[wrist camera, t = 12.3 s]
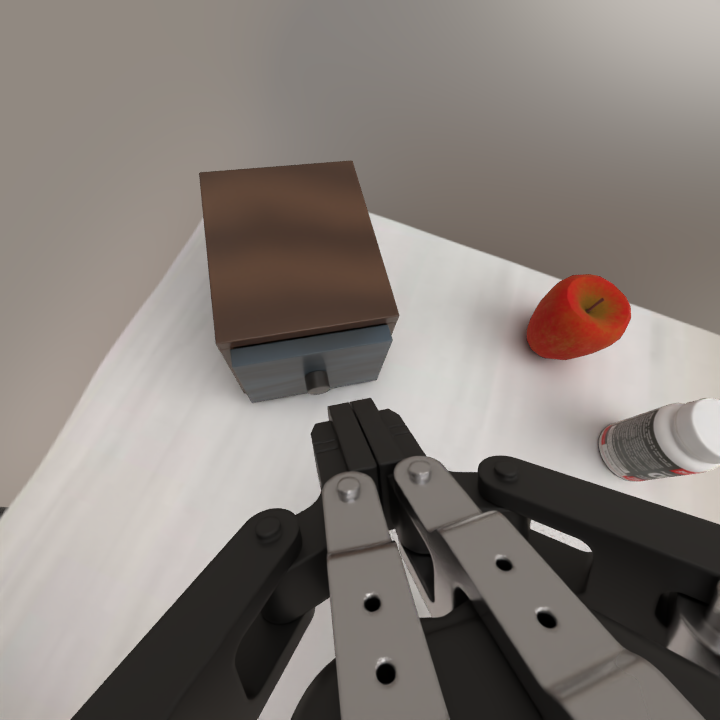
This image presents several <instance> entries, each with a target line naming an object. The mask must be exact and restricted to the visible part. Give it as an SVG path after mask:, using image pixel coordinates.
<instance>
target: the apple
mask: <svg viewBox="0 0 720 720" xmlns="http://www.w3.org/2000/svg"><path fill="white" fill-rule="evenodd" d="M630 319H631V308H630V304H629V302H628V300H627V298H626V297H625V296H624V294H623V293H622V292H621V291H620V290H618V289H617V287H615V286H614V284H612V283H611V282H609V281H607V280H606V279H604V278H602V277H600V276H596V275H591V274H586V275H572V276H570V277H568V278H566V279H564V280H562V281H560V282H559V283H557V284H556V285H555V286H554V287H553V288H552V289H551V290H550V291H549V292H548V293H547V294H546V296H545V297H544V298H543V299H542V300H541V301H540V303H539V304H538V306H537V308H536V309H535V311H534V313H533V315H532V317H531V319H530V322H529V325H528V327H527V342H528V344H529V346H530V347H531V349H532V350H533V351H534V352H535V353H537V354H538V355H539V356H541V357H544V358H550V359H560V360H567V359H572V358H576V357H581V356H585V355H588V354H591V353H594V352H597V351H599V350H601V349H604V348H606V347H608V346H610V345H612V344H613V343H615V342H616V341H617V340H619V339H620V338H621V336H622V335H623V333H624V332H625V330H626V328H627V326H628V324H629V321H630Z"/></svg>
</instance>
